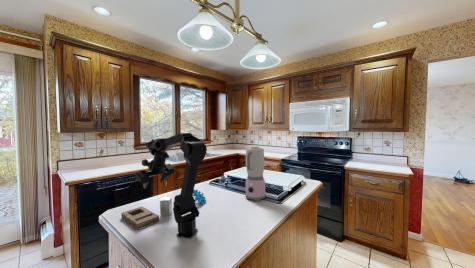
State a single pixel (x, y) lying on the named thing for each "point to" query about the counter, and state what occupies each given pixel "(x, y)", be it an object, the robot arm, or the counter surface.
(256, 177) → the blender
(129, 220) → the socket block
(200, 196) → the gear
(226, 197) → the counter surface
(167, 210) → the square bit
